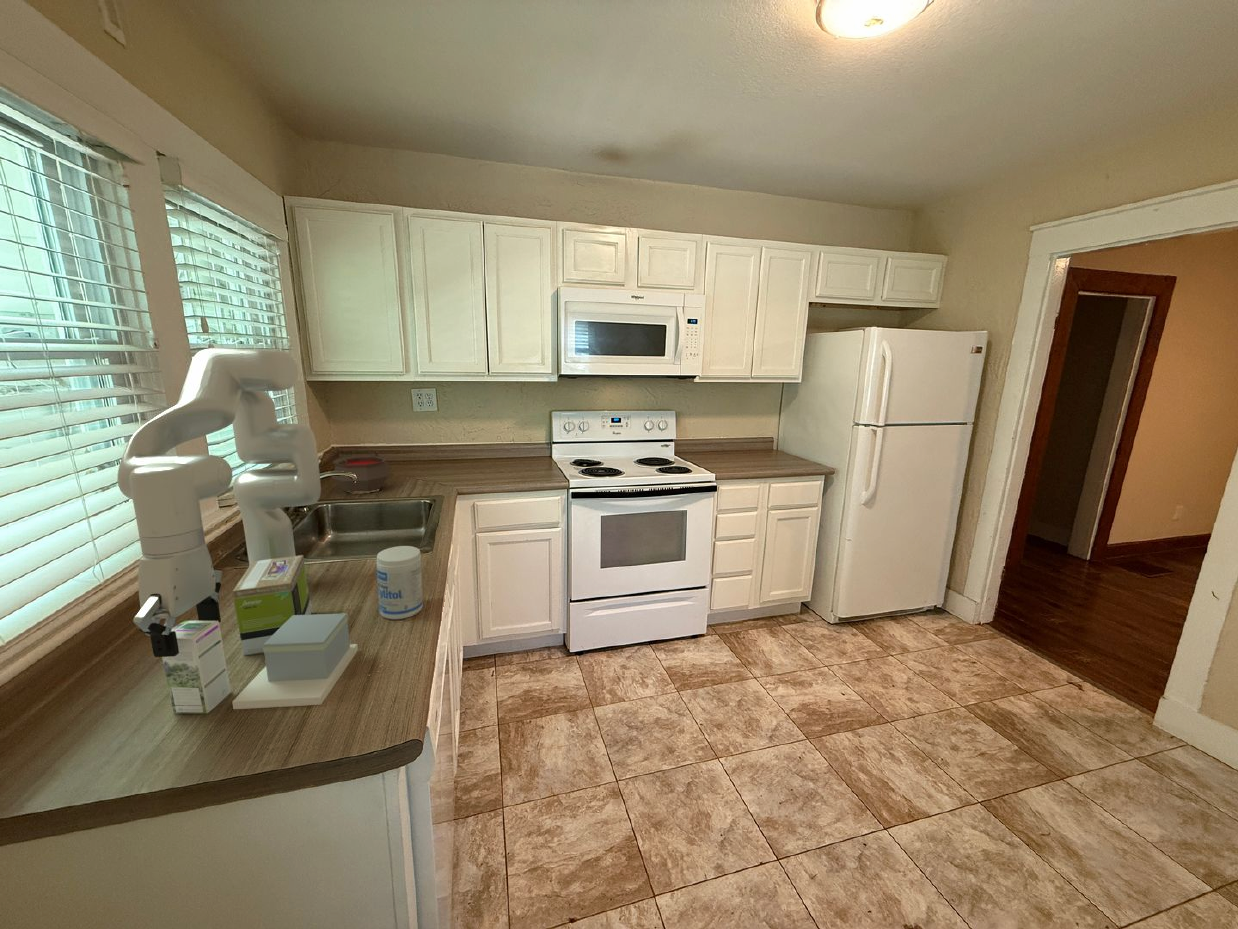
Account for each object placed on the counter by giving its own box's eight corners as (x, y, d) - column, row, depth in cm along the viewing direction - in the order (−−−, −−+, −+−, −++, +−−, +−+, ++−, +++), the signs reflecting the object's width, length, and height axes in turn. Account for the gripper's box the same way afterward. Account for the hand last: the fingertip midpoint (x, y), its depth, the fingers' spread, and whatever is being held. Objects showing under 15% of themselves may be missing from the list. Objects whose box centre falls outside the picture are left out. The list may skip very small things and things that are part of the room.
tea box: (261, 620, 110) (252, 559, 107) (312, 612, 114) (305, 553, 111) (241, 657, 97) (230, 589, 94) (300, 647, 101) (292, 581, 98)
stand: (284, 653, 98) (279, 613, 97) (357, 650, 100) (354, 610, 98) (233, 709, 83) (225, 662, 81) (321, 704, 85) (315, 658, 83)
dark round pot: (356, 481, 227) (353, 447, 224) (404, 485, 224) (402, 450, 221) (319, 495, 204) (314, 457, 201) (371, 499, 201) (368, 461, 197)
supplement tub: (372, 621, 111) (367, 561, 108) (390, 600, 121) (385, 544, 117) (415, 621, 112) (411, 561, 109) (429, 601, 121) (426, 545, 118)
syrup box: (232, 692, 87) (220, 618, 84) (206, 715, 81) (192, 637, 78) (199, 691, 87) (186, 618, 84) (171, 715, 81) (156, 637, 78)
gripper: (188, 524, 86) (202, 614, 89) (97, 563, 69) (118, 671, 72) (234, 523, 86) (246, 612, 90) (156, 561, 70) (174, 669, 73)
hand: (189, 638), depth 81 cm, fingers open, 9 cm apart
